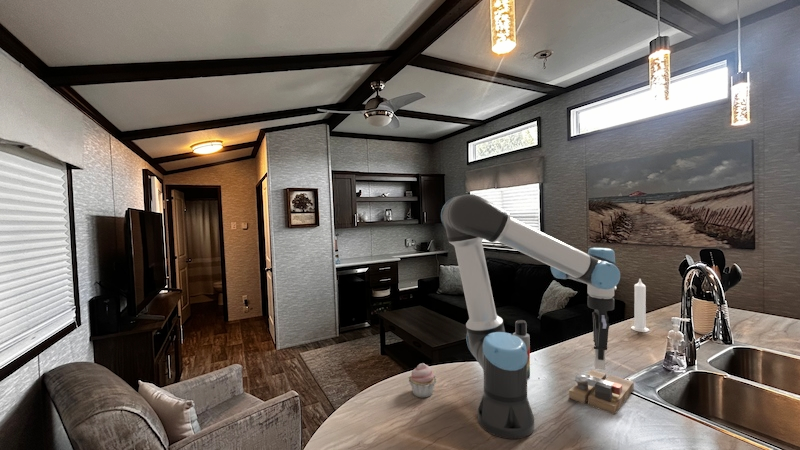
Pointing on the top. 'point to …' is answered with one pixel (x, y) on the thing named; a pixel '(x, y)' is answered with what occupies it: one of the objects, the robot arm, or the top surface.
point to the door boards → (602, 393)
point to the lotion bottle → (522, 334)
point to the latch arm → (591, 381)
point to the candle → (640, 308)
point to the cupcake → (422, 381)
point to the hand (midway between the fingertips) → (599, 368)
